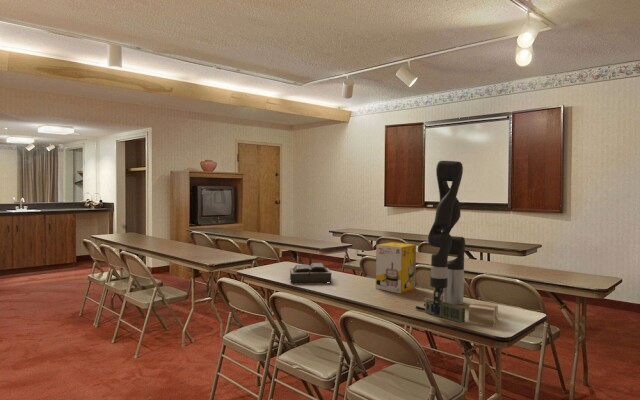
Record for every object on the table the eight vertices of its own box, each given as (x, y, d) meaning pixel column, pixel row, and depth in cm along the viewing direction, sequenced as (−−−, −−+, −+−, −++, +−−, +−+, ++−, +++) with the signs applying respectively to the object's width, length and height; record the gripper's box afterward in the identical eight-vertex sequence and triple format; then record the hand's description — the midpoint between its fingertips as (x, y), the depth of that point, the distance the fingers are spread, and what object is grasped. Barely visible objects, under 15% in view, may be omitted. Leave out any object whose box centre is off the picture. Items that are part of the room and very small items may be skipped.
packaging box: (415, 288, 255) (416, 244, 255) (401, 293, 243) (402, 247, 242) (390, 284, 266) (391, 242, 265) (375, 288, 253) (376, 244, 252)
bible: (330, 285, 260) (330, 269, 260) (284, 284, 263) (284, 267, 263) (333, 277, 284) (333, 262, 283) (291, 276, 286) (291, 261, 286)
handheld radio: (461, 323, 191) (413, 310, 210) (465, 322, 193) (417, 309, 212) (462, 307, 191) (414, 296, 210) (466, 306, 193) (418, 295, 212)
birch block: (473, 316, 202) (474, 300, 202) (497, 319, 197) (497, 304, 197) (468, 323, 192) (468, 306, 191) (493, 327, 187) (493, 310, 186)
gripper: (445, 279, 193) (444, 317, 193) (449, 274, 206) (448, 309, 207) (428, 278, 196) (427, 315, 196) (432, 272, 209) (432, 307, 209)
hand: (438, 312), depth 201 cm, fingers open, 8 cm apart
